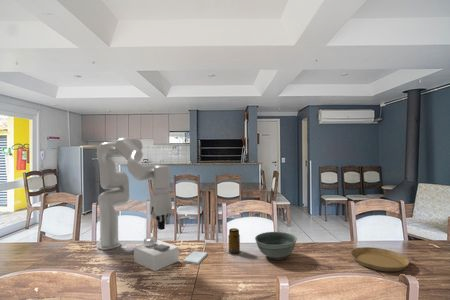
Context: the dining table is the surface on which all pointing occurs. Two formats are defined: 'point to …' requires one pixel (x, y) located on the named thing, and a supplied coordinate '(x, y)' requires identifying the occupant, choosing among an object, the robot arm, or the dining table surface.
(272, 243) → the bowl
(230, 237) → the condiment
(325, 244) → the dining table surface
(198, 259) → the hard drive
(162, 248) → the latch bar
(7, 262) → the dining table surface
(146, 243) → the pin
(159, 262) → the block
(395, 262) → the plant saucer
